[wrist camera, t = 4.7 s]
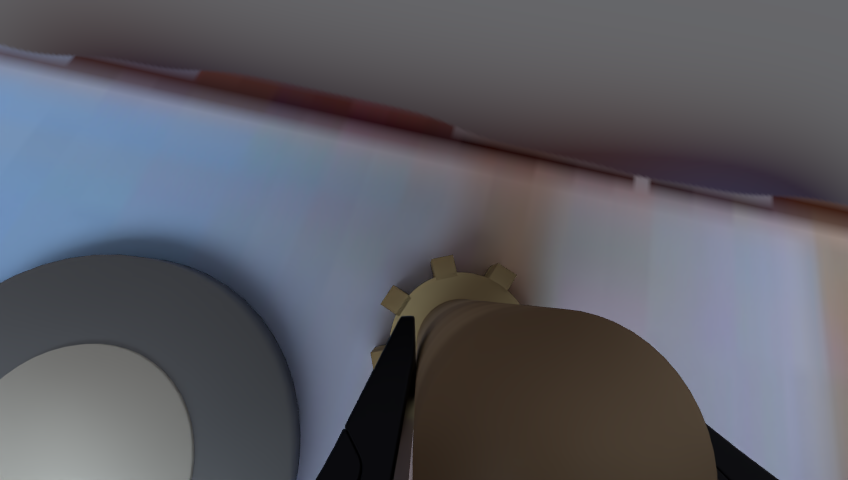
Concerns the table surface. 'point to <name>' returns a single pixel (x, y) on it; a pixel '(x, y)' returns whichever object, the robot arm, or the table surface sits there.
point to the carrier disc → (139, 377)
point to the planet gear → (540, 390)
